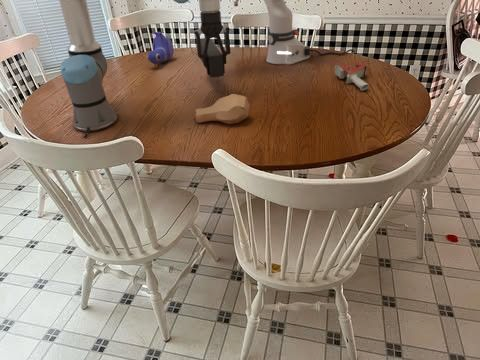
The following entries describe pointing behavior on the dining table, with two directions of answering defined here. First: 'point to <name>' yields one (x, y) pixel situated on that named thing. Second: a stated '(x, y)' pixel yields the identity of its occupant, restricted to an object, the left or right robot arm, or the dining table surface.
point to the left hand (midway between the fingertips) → (215, 73)
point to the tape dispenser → (353, 74)
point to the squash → (225, 110)
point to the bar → (213, 59)
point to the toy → (161, 49)
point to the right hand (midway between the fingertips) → (225, 7)
